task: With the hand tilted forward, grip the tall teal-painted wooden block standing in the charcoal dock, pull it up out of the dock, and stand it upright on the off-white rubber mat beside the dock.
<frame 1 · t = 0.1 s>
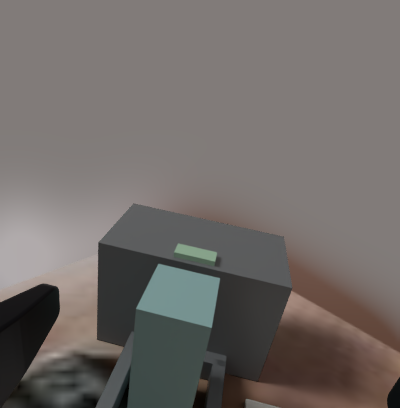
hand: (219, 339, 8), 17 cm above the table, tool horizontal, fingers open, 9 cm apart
charging dock: (162, 407, 22), on the table
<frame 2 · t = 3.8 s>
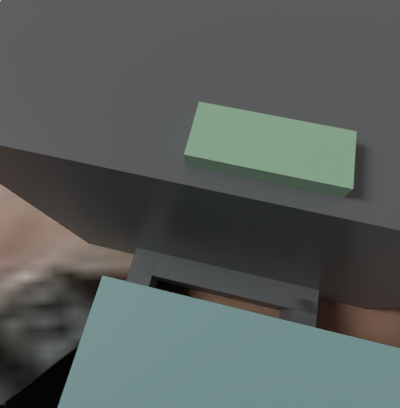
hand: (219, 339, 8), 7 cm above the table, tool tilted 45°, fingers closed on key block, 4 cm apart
charging dock: (204, 363, 14), on the table
key block: (204, 363, 14), on the table, touching gripper
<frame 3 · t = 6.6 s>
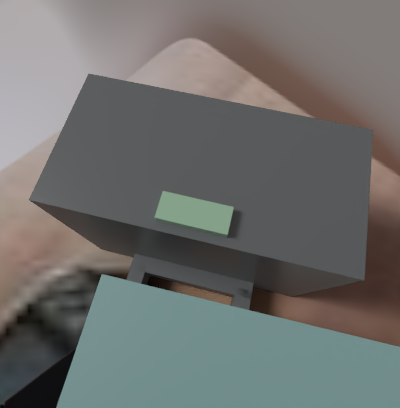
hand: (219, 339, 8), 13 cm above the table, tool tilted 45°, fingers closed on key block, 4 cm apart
charging dock: (179, 331, 20), on the table
key block: (204, 362, 14), point 7 cm above the table, touching gripper
when the fingers open (8 cm above the table, at t = 9.2 s): key block stays where it is, resting on mat.
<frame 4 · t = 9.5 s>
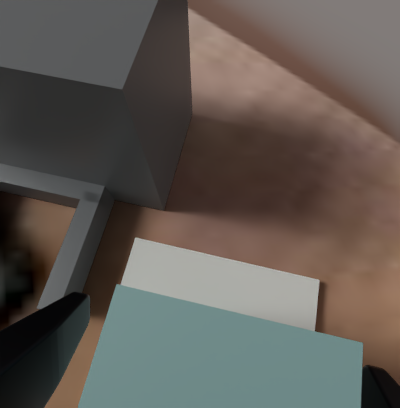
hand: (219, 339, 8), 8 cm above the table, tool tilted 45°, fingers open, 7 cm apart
mat: (204, 358, 15), on the table
charging dock: (23, 250, 17), on the table
key block: (203, 360, 14), resting on mat
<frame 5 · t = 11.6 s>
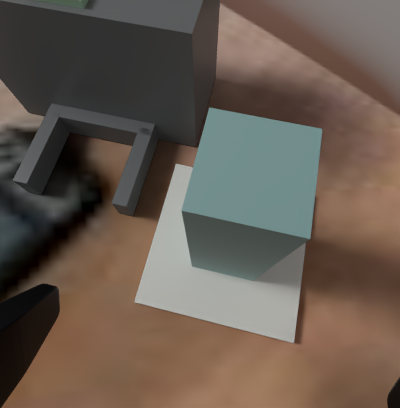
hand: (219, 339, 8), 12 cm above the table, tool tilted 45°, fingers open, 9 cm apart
mat: (228, 245, 21), on the table
charging dock: (92, 173, 23), on the table
key block: (228, 244, 20), resting on mat
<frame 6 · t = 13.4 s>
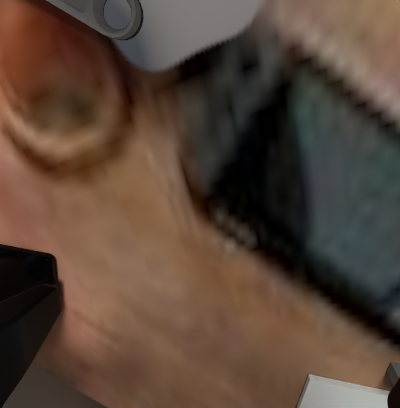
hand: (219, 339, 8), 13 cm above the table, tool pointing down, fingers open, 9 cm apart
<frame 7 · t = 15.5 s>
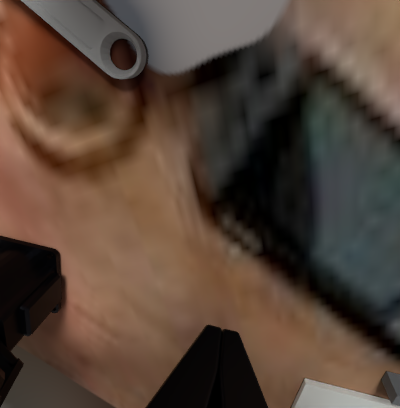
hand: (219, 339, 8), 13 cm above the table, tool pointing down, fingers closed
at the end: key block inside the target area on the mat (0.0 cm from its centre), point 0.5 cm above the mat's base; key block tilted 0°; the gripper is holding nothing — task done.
